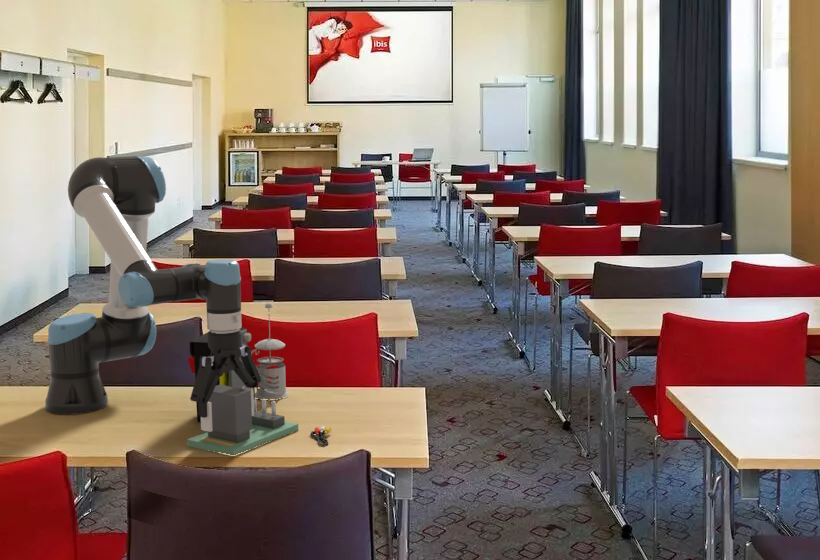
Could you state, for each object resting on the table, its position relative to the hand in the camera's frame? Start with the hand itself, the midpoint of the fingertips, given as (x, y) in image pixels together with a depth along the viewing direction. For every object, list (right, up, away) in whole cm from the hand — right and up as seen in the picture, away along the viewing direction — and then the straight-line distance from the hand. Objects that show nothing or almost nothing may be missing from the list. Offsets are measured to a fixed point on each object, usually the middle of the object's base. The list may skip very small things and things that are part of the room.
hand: (228, 422), depth 214 cm
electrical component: (-6, -1, +25) cm, 25 cm away
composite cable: (+20, -5, +4) cm, 21 cm away
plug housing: (0, -1, 0) cm, 1 cm away
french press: (+3, +1, +40) cm, 40 cm away
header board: (+3, -4, +5) cm, 7 cm away
